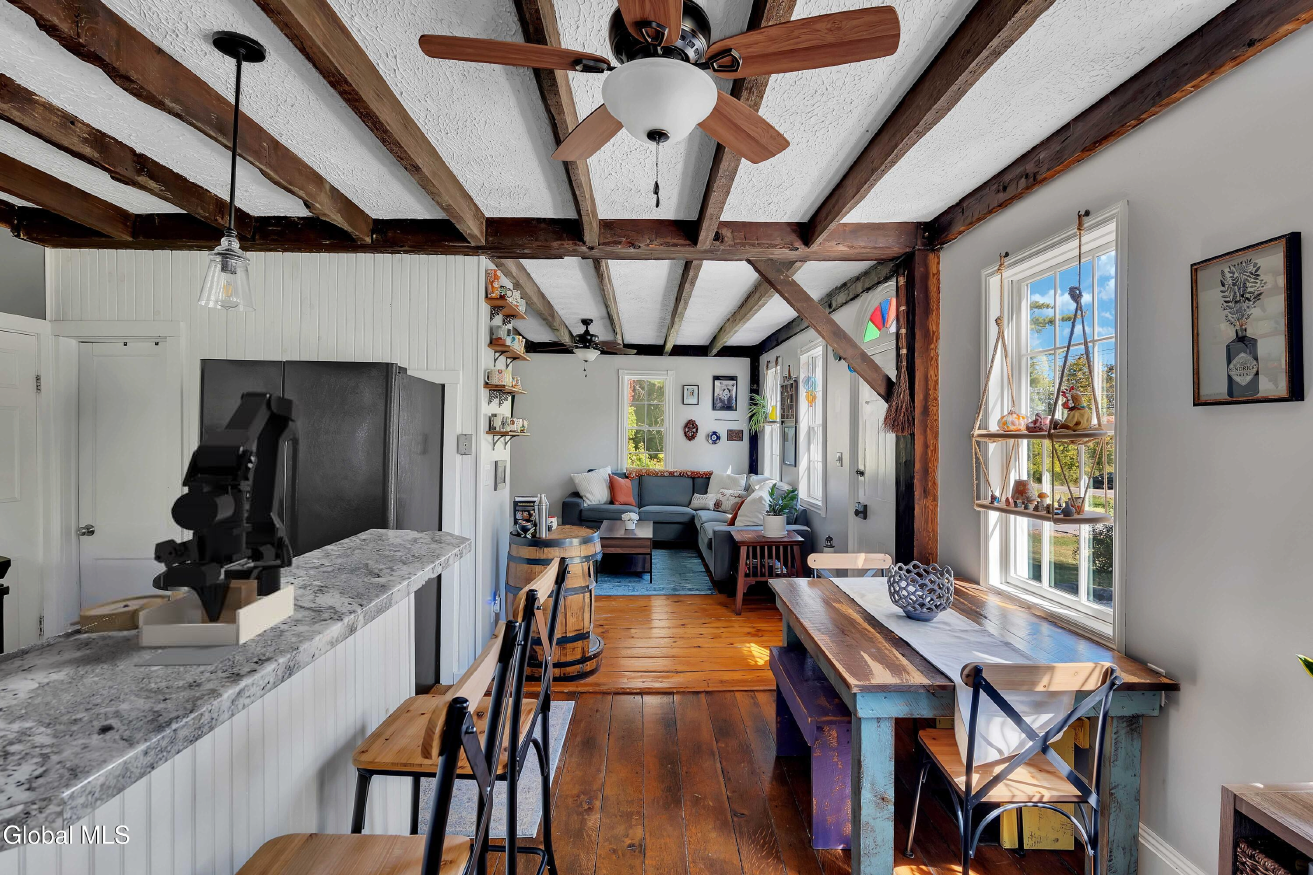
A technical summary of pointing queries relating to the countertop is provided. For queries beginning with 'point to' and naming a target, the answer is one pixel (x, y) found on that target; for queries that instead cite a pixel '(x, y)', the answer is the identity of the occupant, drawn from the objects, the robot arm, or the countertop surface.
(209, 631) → the drawer
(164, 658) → the slate mat
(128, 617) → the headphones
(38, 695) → the countertop surface
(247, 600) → the walnut block
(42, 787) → the countertop surface
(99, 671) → the countertop surface
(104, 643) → the countertop surface
